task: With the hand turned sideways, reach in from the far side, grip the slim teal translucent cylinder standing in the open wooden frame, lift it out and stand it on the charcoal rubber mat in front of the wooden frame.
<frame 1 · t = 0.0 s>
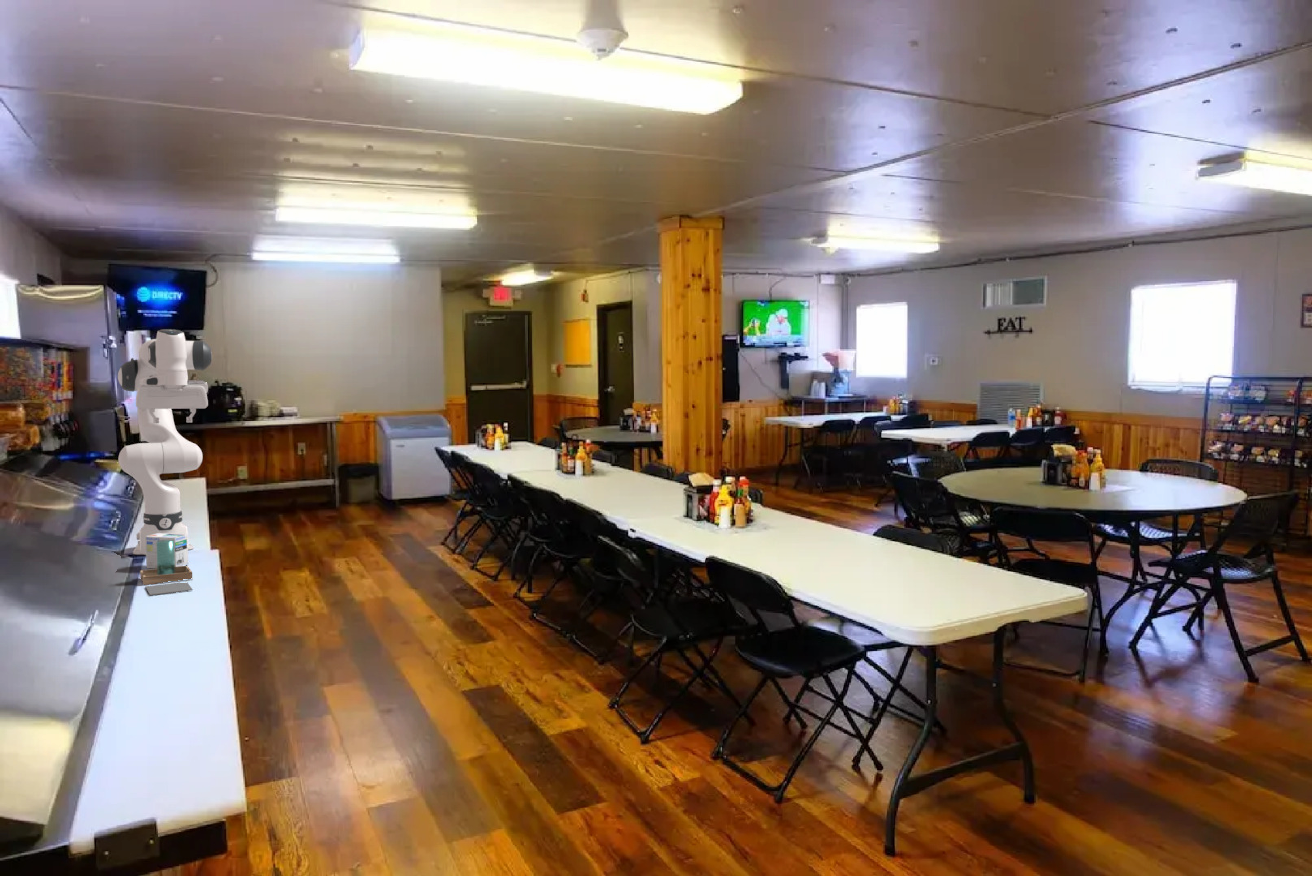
hand: (172, 422, 278), 48 cm above the counter, tool pointing down, fingers open, 8 cm apart
light bulb box: (167, 567, 284), on the counter
teal translucent cylinder: (165, 560, 268), in the wooden frame
rubber mat: (168, 589, 257), on the counter
wooden frame: (166, 579, 268), on the counter
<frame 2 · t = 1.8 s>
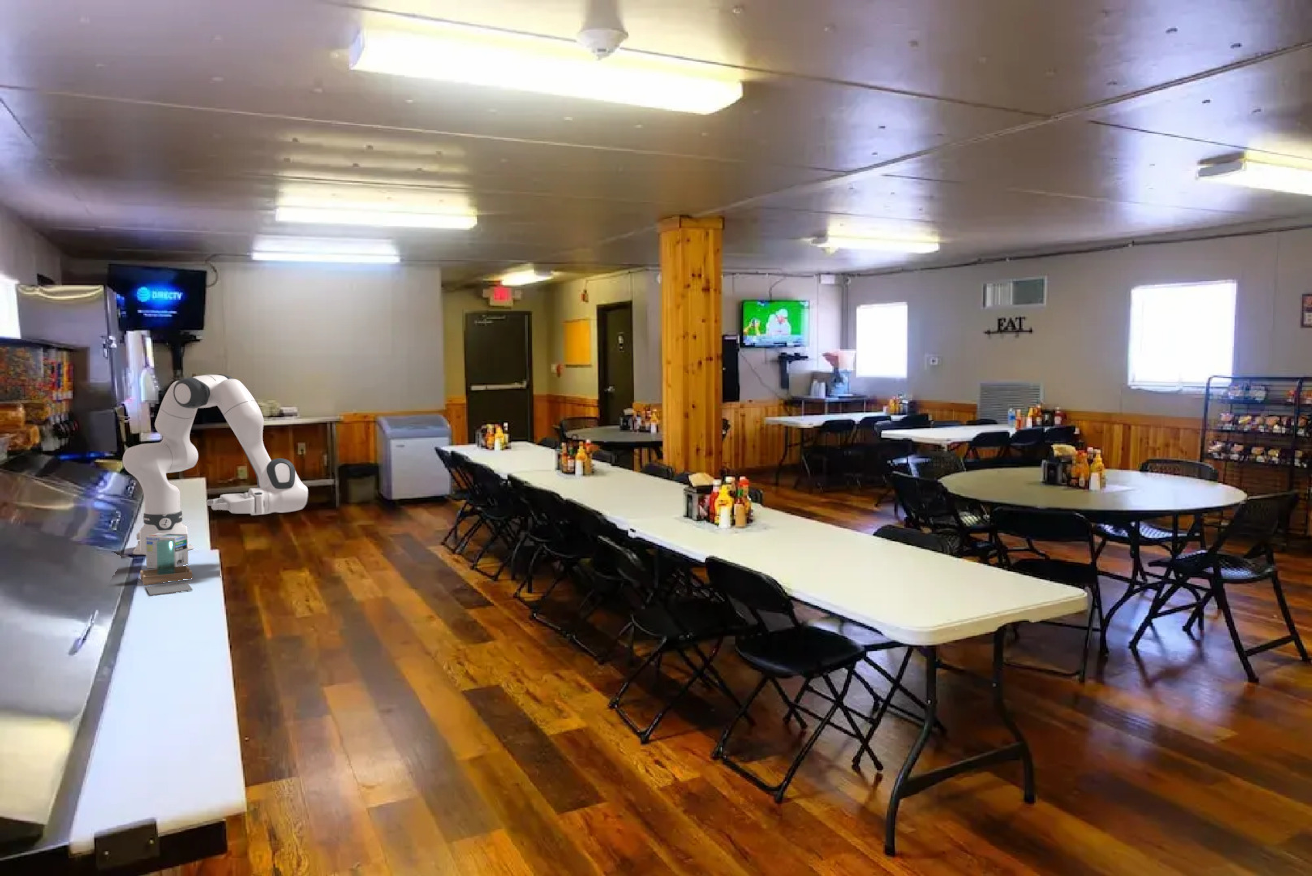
hand: (209, 504, 274), 22 cm above the counter, tool horizontal, fingers open, 8 cm apart
nothing on the counter moved.
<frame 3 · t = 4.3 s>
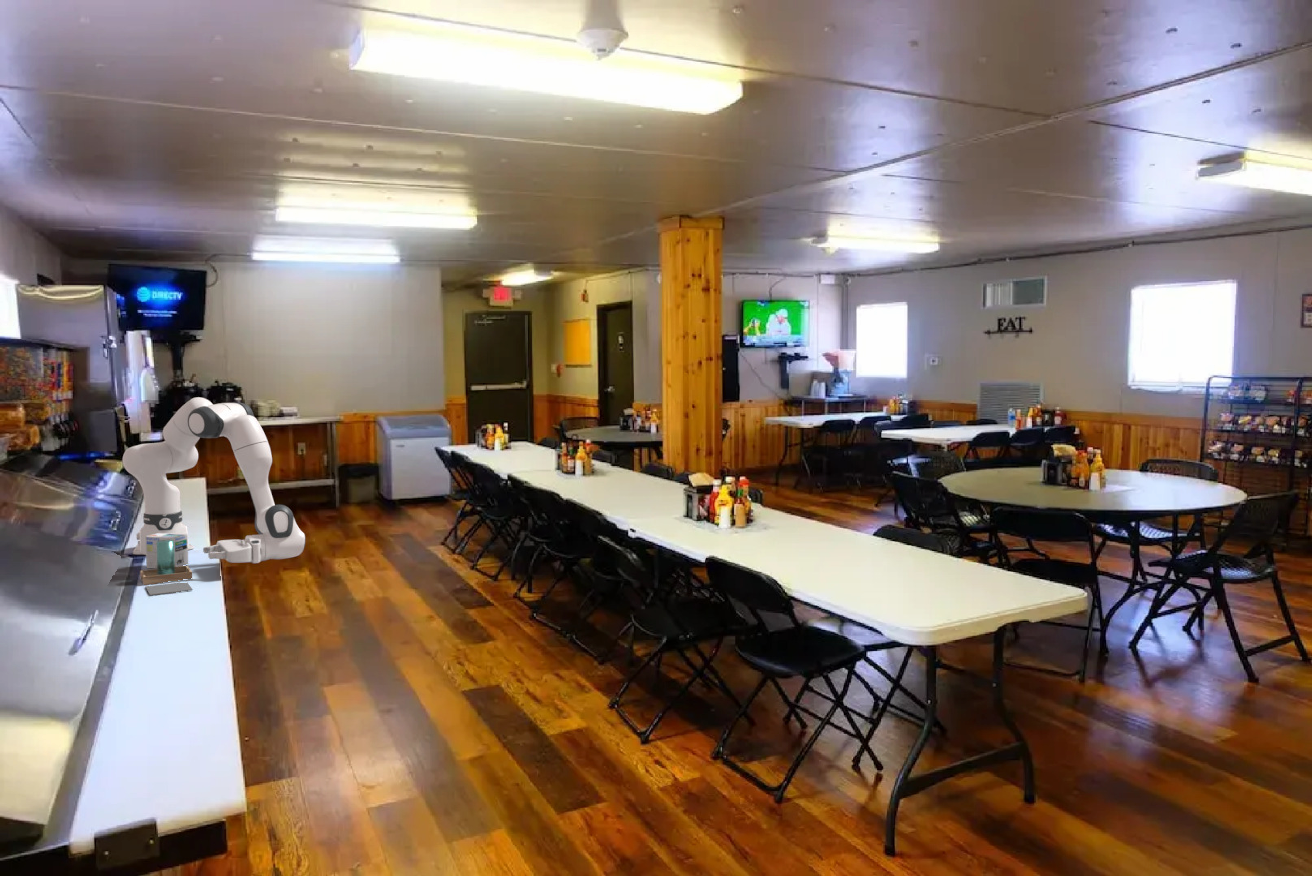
hand: (206, 553, 275), 7 cm above the counter, tool horizontal, fingers open, 8 cm apart
nothing on the counter moved.
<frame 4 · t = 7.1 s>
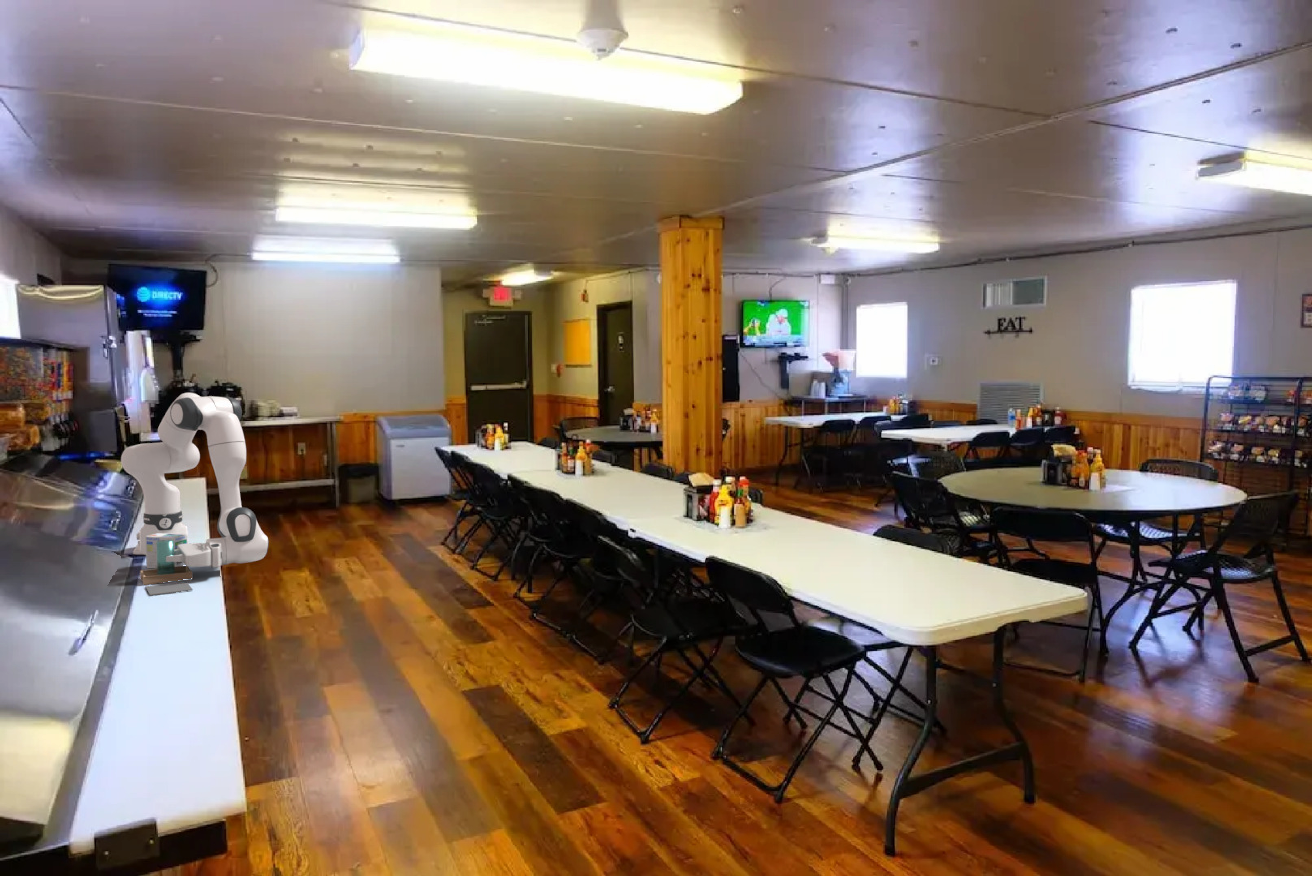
hand: (164, 557, 268), 7 cm above the counter, tool horizontal, fingers closed on teal translucent cylinder, 5 cm apart
teal translucent cylinder: (165, 560, 268), in the wooden frame, touching gripper
everything else where it was.
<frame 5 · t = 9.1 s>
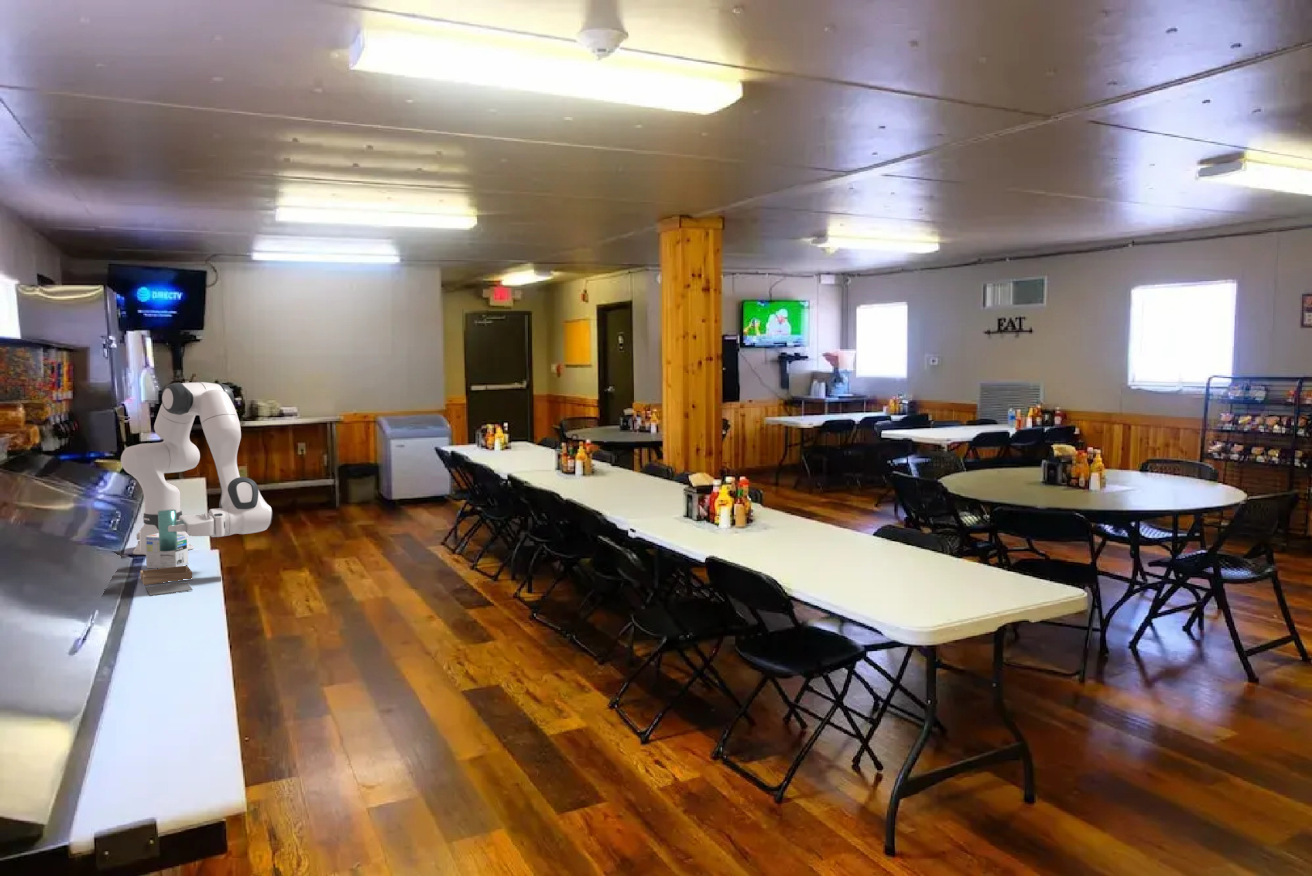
hand: (166, 527, 261), 18 cm above the counter, tool horizontal, fingers closed on teal translucent cylinder, 5 cm apart
teal translucent cylinder: (167, 530, 261), point 17 cm above the counter, touching gripper
everything else where it was.
when the fingers open (8 cm above the counter, at t = 11.6 s): teal translucent cylinder stays where it is, resting on rubber mat.
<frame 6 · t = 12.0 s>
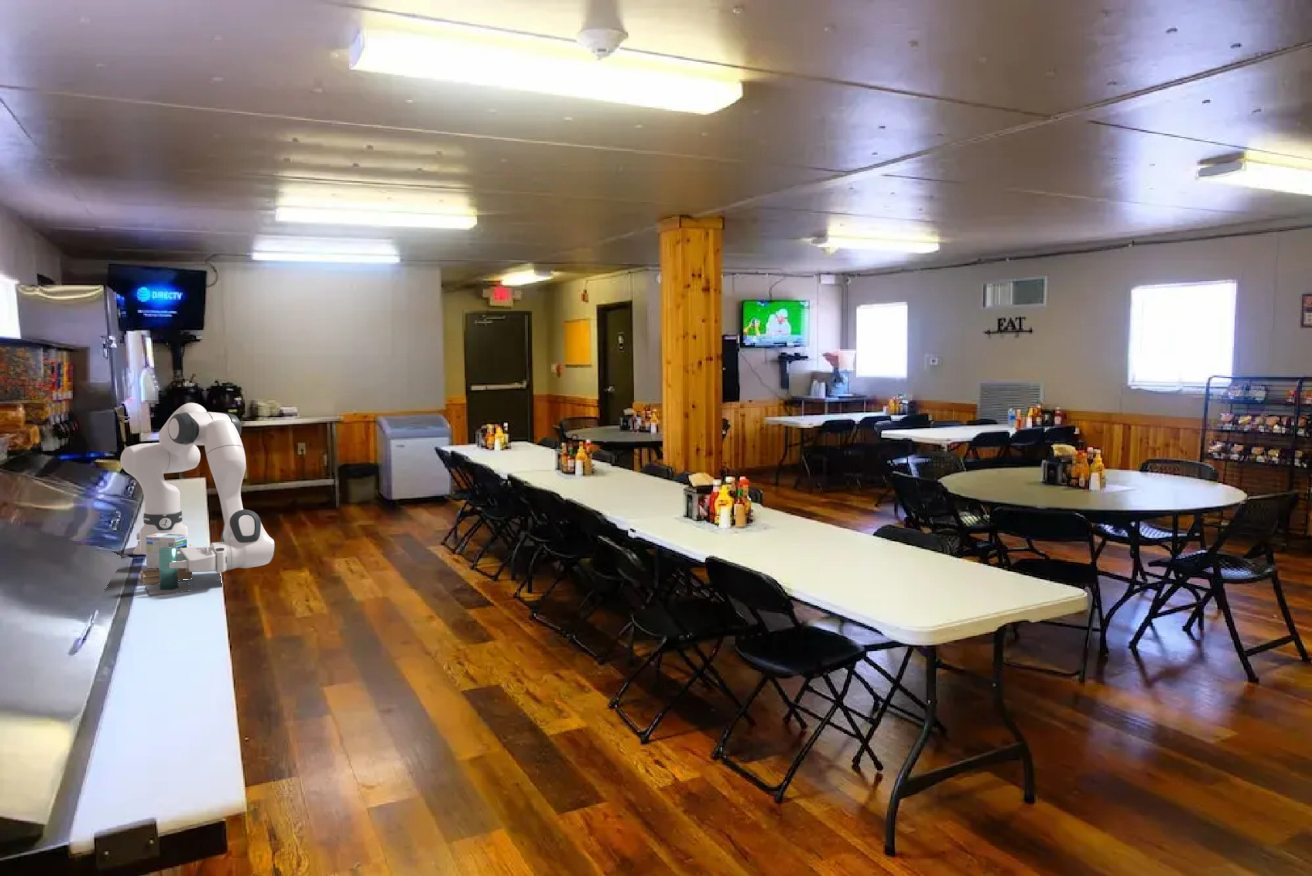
hand: (166, 561, 256), 8 cm above the counter, tool horizontal, fingers open, 8 cm apart
teal translucent cylinder: (168, 568, 256), on the rubber mat
everything else where it was.
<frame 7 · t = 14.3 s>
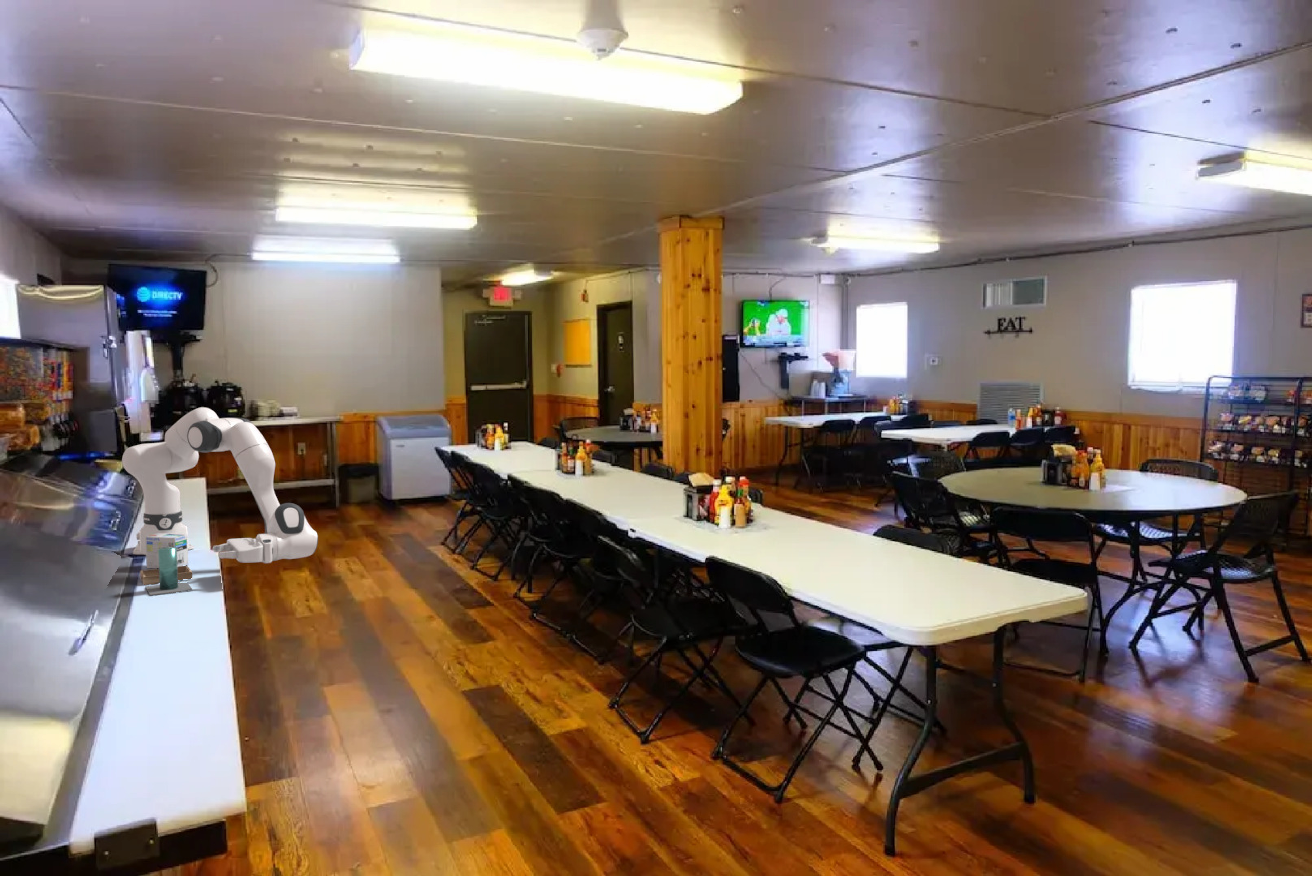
hand: (215, 552, 264), 10 cm above the counter, tool horizontal, fingers open, 8 cm apart
nothing on the counter moved.
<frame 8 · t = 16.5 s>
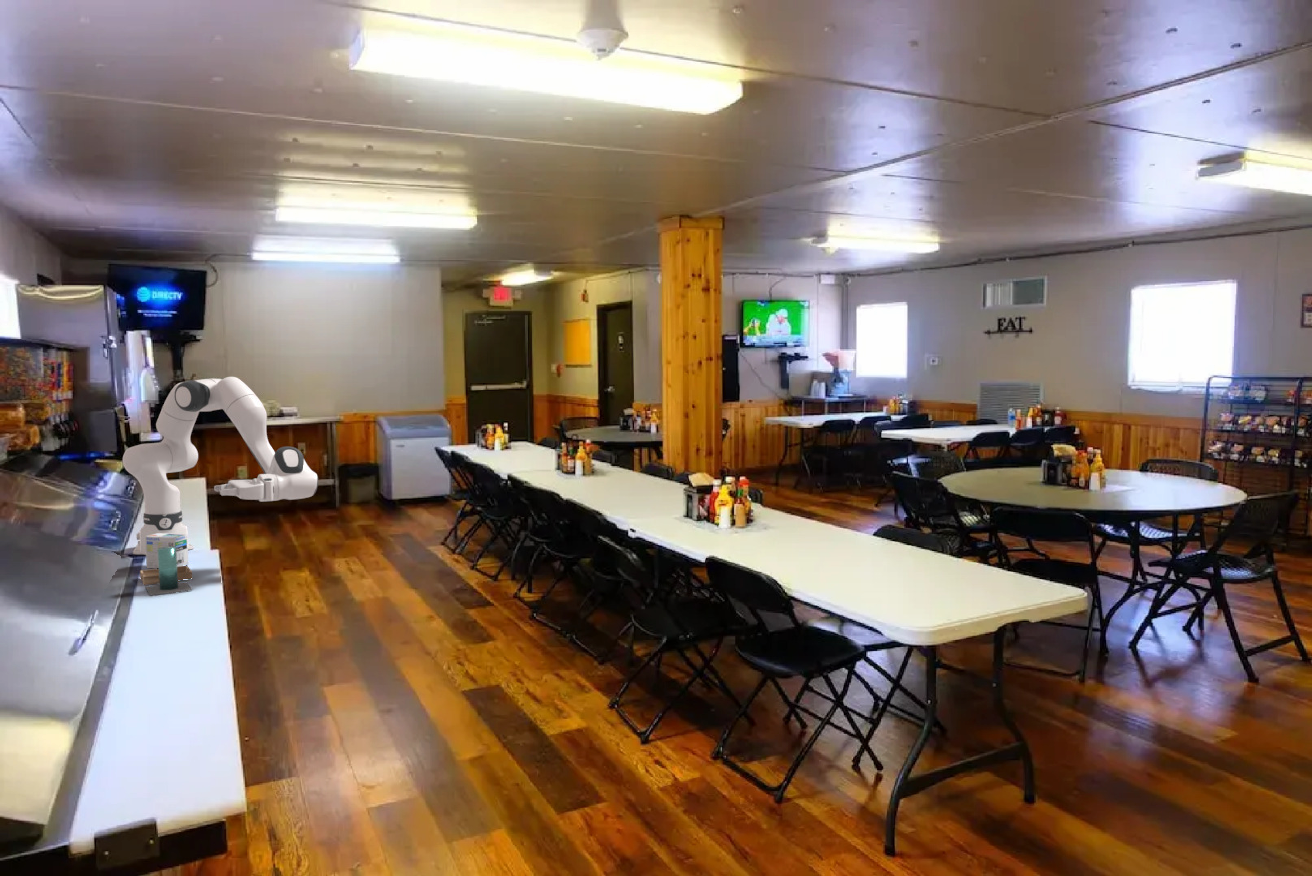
hand: (217, 490, 268), 28 cm above the counter, tool horizontal, fingers open, 8 cm apart
nothing on the counter moved.
at the end: teal translucent cylinder inside the target area (0.0 cm from its centre), point 6.5 cm above the counter; teal translucent cylinder tilted 1°; the gripper is holding nothing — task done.
